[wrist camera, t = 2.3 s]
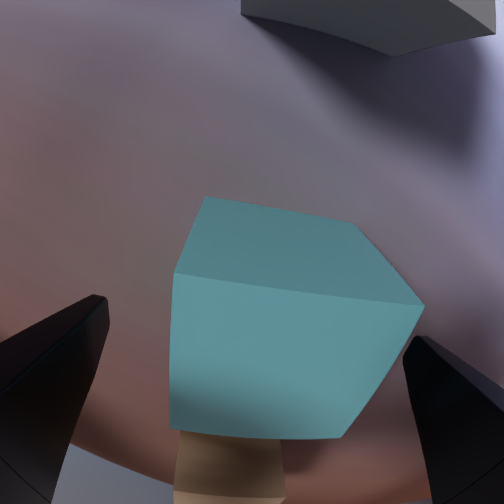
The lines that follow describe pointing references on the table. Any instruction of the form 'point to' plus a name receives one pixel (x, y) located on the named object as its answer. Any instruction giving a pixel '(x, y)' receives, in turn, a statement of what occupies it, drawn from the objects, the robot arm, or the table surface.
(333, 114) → the table surface
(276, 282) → the teal cube
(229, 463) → the walnut cube
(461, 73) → the table surface
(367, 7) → the gray cube
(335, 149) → the table surface
